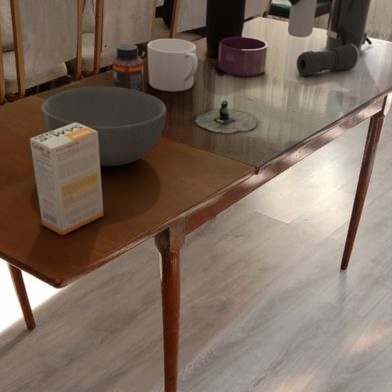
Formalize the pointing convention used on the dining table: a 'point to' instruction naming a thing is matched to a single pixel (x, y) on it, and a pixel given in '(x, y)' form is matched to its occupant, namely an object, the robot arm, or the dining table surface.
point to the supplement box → (68, 177)
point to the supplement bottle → (128, 68)
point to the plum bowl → (242, 56)
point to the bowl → (110, 119)
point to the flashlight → (328, 60)
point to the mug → (171, 64)
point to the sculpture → (226, 120)
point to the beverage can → (302, 18)
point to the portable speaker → (223, 22)
